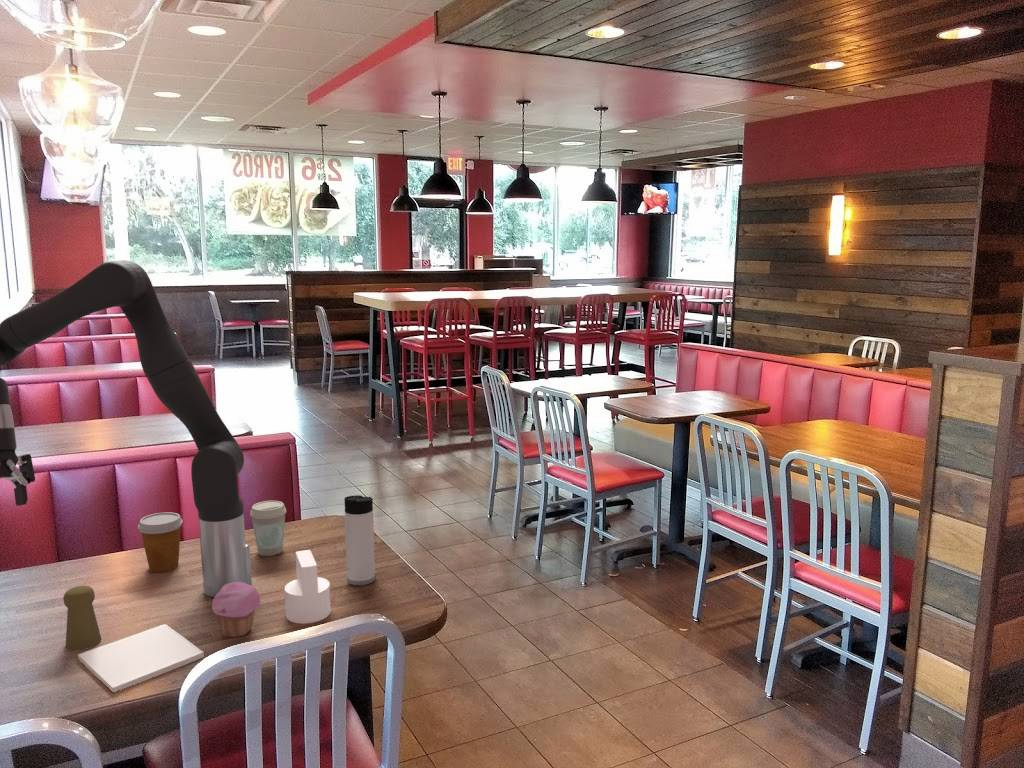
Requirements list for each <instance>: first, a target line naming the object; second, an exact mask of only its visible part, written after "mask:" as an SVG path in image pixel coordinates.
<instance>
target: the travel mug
mask: <svg viewBox="0 0 1024 768" xmlns="http://www.w3.org/2000/svg"><path fill="white" fill-rule="evenodd" d="M343 500H344V531H345V533H344V535H345V536H344V537H345V558H346V559H345V560H346V581H347V583H348V584H349V585H353V586H357V585H358V586H367V585H369V583H370V584H371V583H373V582H374V581H375V580H376V569H375V568H376V565H375V530H374V524H375V523H374V507H373V504H374V503H373V497H372V496H363V495H348V496H346V497H344V499H343ZM366 584H367V585H366Z"/></svg>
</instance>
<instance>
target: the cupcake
mask: <svg viewBox="0 0 1024 768" xmlns="http://www.w3.org/2000/svg"><path fill="white" fill-rule="evenodd" d="M260 599H261V597H260V594H259V591H258V590H257V588H256V586H253V585H252V586H251V585H248V584H245V583H242V582H232V583H228V584H226V585H224V586H223V587H222V588H221V589H220V591H219V592H218V593H217V594H216V596H215V597H213V599H212V602H211V603H212V604H211V610H212V612H213V613H214V614H215V615H216V616H217V619H218V623H219V631H220V633H221V635H222V636H224V637H226V638H234V637H235V638H237V637H243V636H244V635H246V634H247V633H248V632H249V631H250V630H251V629H252V628H253V624H254V616H255V612H256V609H257V608H259V606H260V604H261V600H260Z"/></svg>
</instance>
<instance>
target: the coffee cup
mask: <svg viewBox="0 0 1024 768" xmlns="http://www.w3.org/2000/svg"><path fill="white" fill-rule="evenodd" d="M249 511H250V514H249V516H250V517H251V521H252V526H253V533H254V537H255V544H256V548H257V553H258V555H260V556H261V557H262V556H263V557H270V556H276V554H277V555H279V554H281V553H282V552H283V549H284V535H285V534H284V533H285V522H286V521H285V520H286V514H287V508H286V506H285V504H284V503H283V502H282V501H280V500H264V501H259V502H257V503H254V504H253V505H252V506H251V509H250V510H249Z"/></svg>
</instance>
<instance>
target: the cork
mask: <svg viewBox="0 0 1024 768" xmlns="http://www.w3.org/2000/svg"><path fill="white" fill-rule="evenodd" d="M95 595H96V593H95V590H94V589H93V587H91V586H89V585H78V586H74V587H71V588H68V589H67V590H66V591H65V593H64V595H63V599H62V600H63V603H64V606H65V607H66V608H67V614H66V615H67V616H66V632H65V634H66V635H65V648H66V649H67V650H68V651H75V650H77V651H84V650H87V649H86V648H88V649H90V647H91V648H93V647H95V646H97V645H99V643H101V641H102V636H101V632H100V627H99V625H98V620H97V617H96V613H95V609H94V605H93V602H94V601H95V598H96V596H95ZM96 644H97V645H96ZM92 646H93V647H92ZM83 649H84V650H83Z"/></svg>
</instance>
